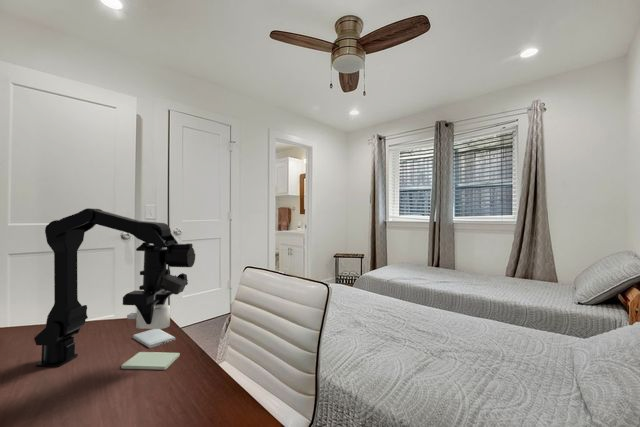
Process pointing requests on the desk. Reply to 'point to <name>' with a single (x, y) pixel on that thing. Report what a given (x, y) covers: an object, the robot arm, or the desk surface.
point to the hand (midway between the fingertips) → (153, 321)
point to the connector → (153, 318)
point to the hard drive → (153, 337)
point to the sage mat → (151, 360)
